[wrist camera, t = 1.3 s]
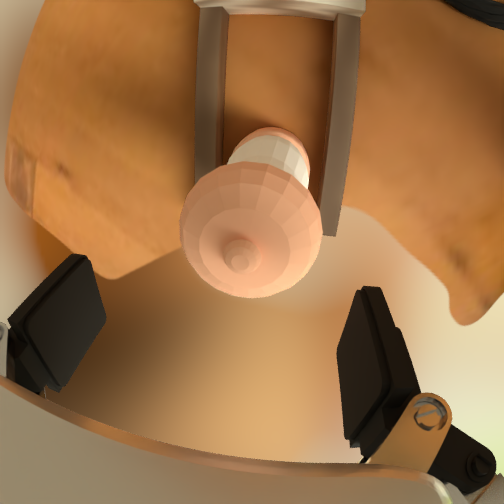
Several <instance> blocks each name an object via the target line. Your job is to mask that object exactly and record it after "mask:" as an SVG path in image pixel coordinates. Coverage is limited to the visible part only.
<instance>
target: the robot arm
mask: <svg viewBox="0 0 504 504" xmlns="http://www.w3.org/2000/svg"><path fill="white" fill-rule="evenodd" d="M8 322H9V324H10V326H11V328H10V329H8V328H7V326H6V324H4V323H2V322H0V504H504V477H503V476H502V474H501V473H499V474H498V475H496V473H495V472H496V460H495V457H494V455H493V453H492V452H491V451H490V450H489V449H488V448H487V447H485V446H484V445H482V444H480V443H479V442H477V441H476V440H474V439H473V438H471V437H470V436H468V435H467V434H465V433H464V432H462V431H461V430H459V429H458V428H456V427H455V426H453V425H452V424H451V421H452V412H451V409H450V407H449V405H448V404H447V402H446V401H445V400H444V399H443V398H441V397H440V396H438V395H435V394H433V393H421V391H420V387H419V384H418V380H417V377H416V374H415V371H414V368H413V365H412V361H411V358H410V355H409V352H408V349H407V347H406V344H405V341H404V338H403V335H402V332H401V330H400V329H399V328H398V327H395V324H394V321H393V318H392V316H391V313H390V311H389V308H388V305H387V302H386V300H385V297H384V295H383V292H382V290H381V288H380V287H371V286H363V287H362V289H361V290H357V291H356V293H355V296H354V299H353V302H352V306H351V309H350V312H349V315H348V318H347V321H346V324H345V327H344V330H343V333H342V335H341V338H340V341H339V344H338V347H337V364H338V373H339V382H340V392H341V402H342V414H343V427H344V437H345V439H346V440H349V441H350V448H355V447H356V448H357V447H360V450H361V455H363V457H362V458H361V459H360V460H359V462H358V463H301V462H284V461H272V460H260V459H251V458H242V457H235V456H227V455H221V454H215V453H209V452H204V451H199V450H193V449H189V448H184V447H180V446H176V445H172V444H168V443H164V442H160V441H156V440H152V439H149V438H145V437H142V436H139V435H135V434H132V433H129V432H126V431H123V430H120V429H116V428H114V427H111V426H108V425H106V424H103V423H100V422H97V421H95V420H92V419H90V418H87V417H85V416H82V415H80V414H78V413H75V412H73V411H71V410H68V409H66V408H64V407H62V406H60V405H57V404H55V403H53V402H51V401H49V400H47V399H46V397H45V390H44V387H45V385H47V386H48V387H49V388H50V389H52V390H54V391H56V392H60V390H61V389H62V387H63V386H66V384H67V383H68V381H69V380H70V378H71V376H72V374H73V373H74V371H75V370H76V368H77V366H78V365H79V363H80V361H81V360H82V358H83V357H84V355H85V353H86V352H87V350H88V349H89V347H90V345H91V344H92V342H93V341H94V339H95V338H96V336H97V335H98V333H99V332H100V330H101V329H102V327H103V326H104V324H105V322H106V313H105V310H104V307H103V303H102V300H101V297H100V294H99V290H98V286H97V283H96V279H95V276H94V272H93V268H92V264H91V261H90V260H88V257H87V256H85V255H81V254H71V255H70V256H69V257H68V258H66V259H65V260H64V261H63V262H62V263H61V264H60V265H59V266H58V267H57V268H56V269H55V270H54V271H53V272H52V273H51V274H50V275H49V276H48V277H47V278H46V279H45V280H44V281H43V282H42V283H41V284H40V285H39V286H38V287H37V288H36V289H35V290H34V291H33V292H32V293H31V294H30V295H29V296H28V297H27V298H26V300H24V302H23V303H22V304H21V305H20V306H19V307H18V308H17V309H16V310H15V311H14V313H13V314H12V315H11V316H10V317H9V318H8Z"/></svg>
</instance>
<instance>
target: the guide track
mask: <svg viewBox="0 0 504 504" xmlns="http://www.w3.org/2000/svg"><path fill="white" fill-rule="evenodd" d="M194 3H195V4H197V5H198V6H199V7H200V19H199V33H198V49H197V69H196V97H195V184H196V183H197V182H198V181H199V179H200V178H201V177H203V176H205V175H206V174H208V173H210V172H211V171H213V170H215V169H216V168H218V167H220V166H222V161H223V125H224V98H225V76H226V56H227V39H228V23H229V14H266V15H285V16H298V17H308V18H316V19H324V20H331V21H334V23H333V45H332V62H331V77H330V90H329V102H328V113H327V123H326V133H325V142H324V151H323V159H322V168H321V176H320V183H319V191H318V198H317V207H318V209H319V211H320V216H321V223H322V230H323V234H322V235H327V236H336V232H337V226H338V221H339V216H340V210H341V205H342V199H343V193H344V187H345V180H346V174H347V167H348V160H349V153H350V145H351V138H352V129H353V121H354V111H355V101H356V90H357V78H358V64H359V46H360V17H361V16H362V15H363V14H364V13H365V11H366V0H194Z"/></svg>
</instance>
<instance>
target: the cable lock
mask: <svg viewBox="0 0 504 504" xmlns="http://www.w3.org/2000/svg"><path fill="white" fill-rule="evenodd" d="M444 1H446V2H447V3H449V4H450V5H452V6H453V7H454V8H456V9H457V10H459V11H460V12H462V13H464V14H466V15H467V16H469V17H472V18H474V19H477V20H479V21H481V22H484V23H486V24H487V25H489V26H491V27H495V28H499V29H502V30H504V4H502V3H499V2H496V1H493V0H444Z"/></svg>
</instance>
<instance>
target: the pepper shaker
mask: <svg viewBox="0 0 504 504" xmlns="http://www.w3.org/2000/svg"><path fill="white" fill-rule="evenodd" d="M309 174H310V165H309V160H308V155H307V152H306V149H305V148H304V146H303V144H302V142H301V141H300V140H299V139H298V138H297V137H296V136H295V135H294V134H293V133H291V132H289V131H287V130H284V129H282V128H276V127H266V128H261V129H257V130H256V131H254V132H252V133H250V134H248V135H247V136H246V137H245V138H244V139H243V140H242V141H241V142H240V143H239V144H238V145H237V146H236V147H235V149H234V151H233V154H232V156H231V157H230V158H229V160H228V163H227V165H223V166H220V167H218V168H216V169H215V170H213V171H211V172H210V173H208V174H206V175H205V176H203V177H201V178H200V179H199V181H198V182H197V183H196V184H195V186H194V187H193V188H192V189H191V191H190V192H189V193H188V194H187V197H186V200H185V203H184V206H183V209H182V212H181V216H180V220H179V222H180V241H181V244H182V247H183V249H184V252H185V255H186V258H187V259H188V261H189V262H190V264H191V265H192V266H193V268H194V269H195V270H196V272H197V273H198V274H199V276H200V277H201V278H202V279H204V280H205V281H206V282H208V283H209V284H210V285H211V286H213V287H214V288H215V289H218V290H220V291H223V292H225V293H227V294H230V295H233V296H239V297H245V298H258V297H267V296H270V295H273V294H275V293H278V292H281V291H283V290H286V289H288V288H290V287H292V286H293V285H294V284H295V283H297V282H298V281H299V280H300V279H302V278H303V277H304V276H305V275H306V274H307V272H308V271H309V269H310V267H311V266H312V264H313V263H314V261H315V260H316V257H317V255H318V252H319V248H320V243H321V239H322V234H323V230H322V223H321V216H320V211H319V209H318V207H317V205H316V203H315V201H314V199H313V197H312V195H311V194H310V192H309V190H308V183H309Z"/></svg>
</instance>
